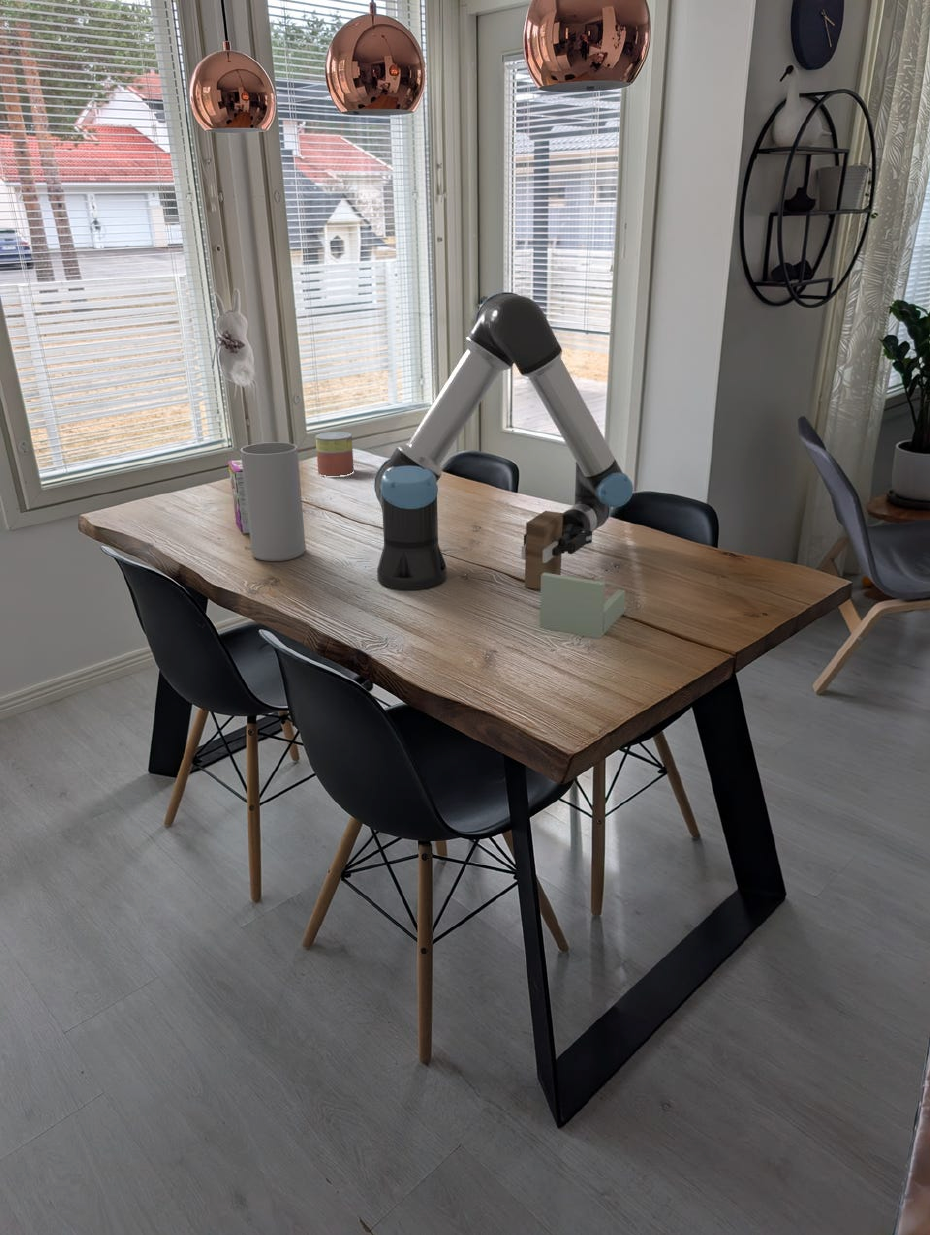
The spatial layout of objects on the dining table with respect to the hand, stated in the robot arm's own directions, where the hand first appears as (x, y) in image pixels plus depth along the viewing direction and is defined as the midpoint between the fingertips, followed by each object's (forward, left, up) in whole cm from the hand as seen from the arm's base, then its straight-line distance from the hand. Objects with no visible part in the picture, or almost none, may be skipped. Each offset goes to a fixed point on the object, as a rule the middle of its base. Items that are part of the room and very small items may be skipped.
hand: (533, 554), depth 187 cm
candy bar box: (-34, +77, -8) cm, 84 cm away
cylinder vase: (-35, +53, -8) cm, 64 cm away
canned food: (+9, +116, -8) cm, 116 cm away
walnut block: (+5, +3, -8) cm, 9 cm away
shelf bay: (0, -17, -8) cm, 19 cm away
